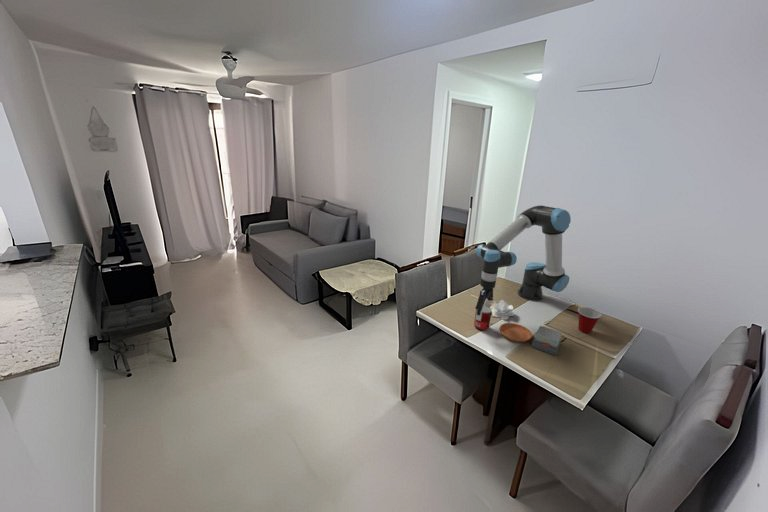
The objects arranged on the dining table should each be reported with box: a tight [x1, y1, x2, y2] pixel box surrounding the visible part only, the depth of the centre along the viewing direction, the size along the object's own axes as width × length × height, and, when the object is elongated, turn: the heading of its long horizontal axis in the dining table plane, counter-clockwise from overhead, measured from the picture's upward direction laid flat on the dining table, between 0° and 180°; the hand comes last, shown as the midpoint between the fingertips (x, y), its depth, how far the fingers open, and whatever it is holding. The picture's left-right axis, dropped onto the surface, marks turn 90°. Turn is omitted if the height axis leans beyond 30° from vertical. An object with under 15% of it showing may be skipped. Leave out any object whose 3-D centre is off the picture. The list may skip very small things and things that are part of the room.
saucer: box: [499, 322, 533, 343], centre depth 160 cm, size 16×16×3 cm
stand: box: [531, 325, 563, 356], centre depth 151 cm, size 13×11×7 cm
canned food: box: [473, 305, 492, 331], centre depth 166 cm, size 8×8×11 cm
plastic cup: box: [577, 306, 602, 334], centre depth 165 cm, size 11×11×12 cm
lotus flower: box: [490, 299, 516, 321], centre depth 180 cm, size 14×15×9 cm
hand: (482, 315), depth 165 cm, fingers open, 13 cm apart
